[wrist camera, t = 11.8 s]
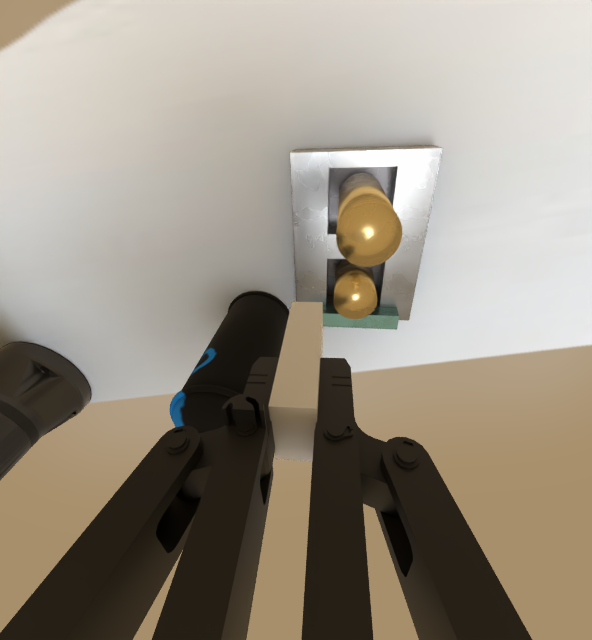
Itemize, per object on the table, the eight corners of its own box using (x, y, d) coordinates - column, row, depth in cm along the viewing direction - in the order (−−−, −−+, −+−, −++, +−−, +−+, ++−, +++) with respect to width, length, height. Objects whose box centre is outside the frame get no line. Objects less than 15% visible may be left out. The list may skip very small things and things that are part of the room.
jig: (300, 302, 36) (292, 333, 31) (294, 149, 28) (283, 157, 22) (404, 305, 35) (414, 338, 30) (433, 145, 26) (456, 151, 21)
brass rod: (337, 217, 30) (334, 265, 20) (340, 172, 28) (337, 202, 18) (379, 217, 30) (396, 267, 20) (384, 172, 27) (407, 202, 18)
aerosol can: (297, 298, 36) (258, 450, 20) (286, 351, 41) (247, 509, 24) (229, 284, 36) (134, 422, 20) (226, 337, 41) (147, 486, 24)
